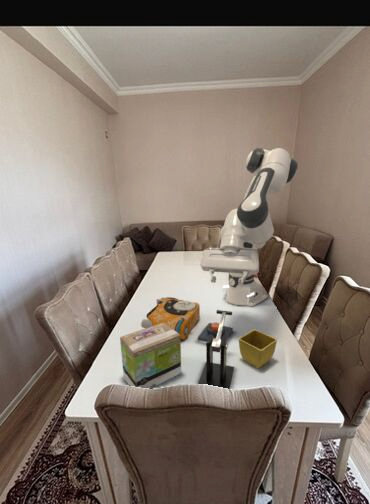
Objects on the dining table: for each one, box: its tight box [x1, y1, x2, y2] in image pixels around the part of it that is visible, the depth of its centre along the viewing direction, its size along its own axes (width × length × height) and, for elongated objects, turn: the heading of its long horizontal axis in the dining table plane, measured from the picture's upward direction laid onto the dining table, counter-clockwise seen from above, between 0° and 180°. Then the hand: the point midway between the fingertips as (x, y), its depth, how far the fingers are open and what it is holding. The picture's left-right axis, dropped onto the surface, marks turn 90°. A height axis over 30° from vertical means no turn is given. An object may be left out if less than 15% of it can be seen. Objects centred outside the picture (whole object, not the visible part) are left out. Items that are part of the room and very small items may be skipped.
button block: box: [197, 322, 234, 343], centre depth 96 cm, size 12×10×4 cm
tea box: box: [119, 322, 182, 389], centre depth 74 cm, size 15×10×15 cm, turn 126°
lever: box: [212, 309, 233, 354], centre depth 76 cm, size 15×5×2 cm, turn 162°
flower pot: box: [238, 329, 278, 369], centre depth 80 cm, size 9×9×9 cm
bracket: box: [197, 335, 235, 390], centre depth 73 cm, size 12×9×14 cm
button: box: [211, 322, 220, 331], centre depth 96 cm, size 4×4×2 cm
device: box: [140, 296, 201, 341], centre depth 108 cm, size 23×8×30 cm
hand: (226, 283), depth 85 cm, fingers open, 8 cm apart
